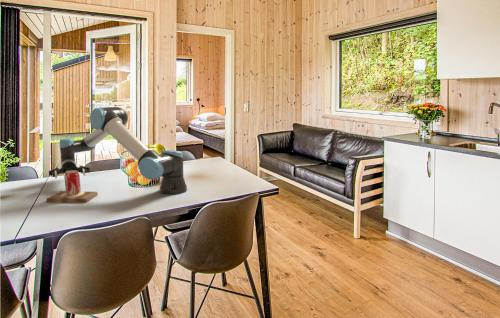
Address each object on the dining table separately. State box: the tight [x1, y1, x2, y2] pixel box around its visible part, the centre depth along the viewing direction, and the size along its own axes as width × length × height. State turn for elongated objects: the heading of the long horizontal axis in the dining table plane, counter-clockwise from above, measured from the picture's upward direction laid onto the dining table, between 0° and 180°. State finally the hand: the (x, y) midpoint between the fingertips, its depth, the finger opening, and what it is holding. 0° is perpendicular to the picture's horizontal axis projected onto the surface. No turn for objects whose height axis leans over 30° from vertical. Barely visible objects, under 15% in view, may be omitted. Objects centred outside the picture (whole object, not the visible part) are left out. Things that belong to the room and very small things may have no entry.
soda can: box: [63, 170, 82, 195], centre depth 180 cm, size 7×7×12 cm
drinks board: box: [46, 190, 99, 204], centre depth 181 cm, size 20×13×2 cm, turn 90°
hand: (70, 174), depth 187 cm, fingers open, 13 cm apart
